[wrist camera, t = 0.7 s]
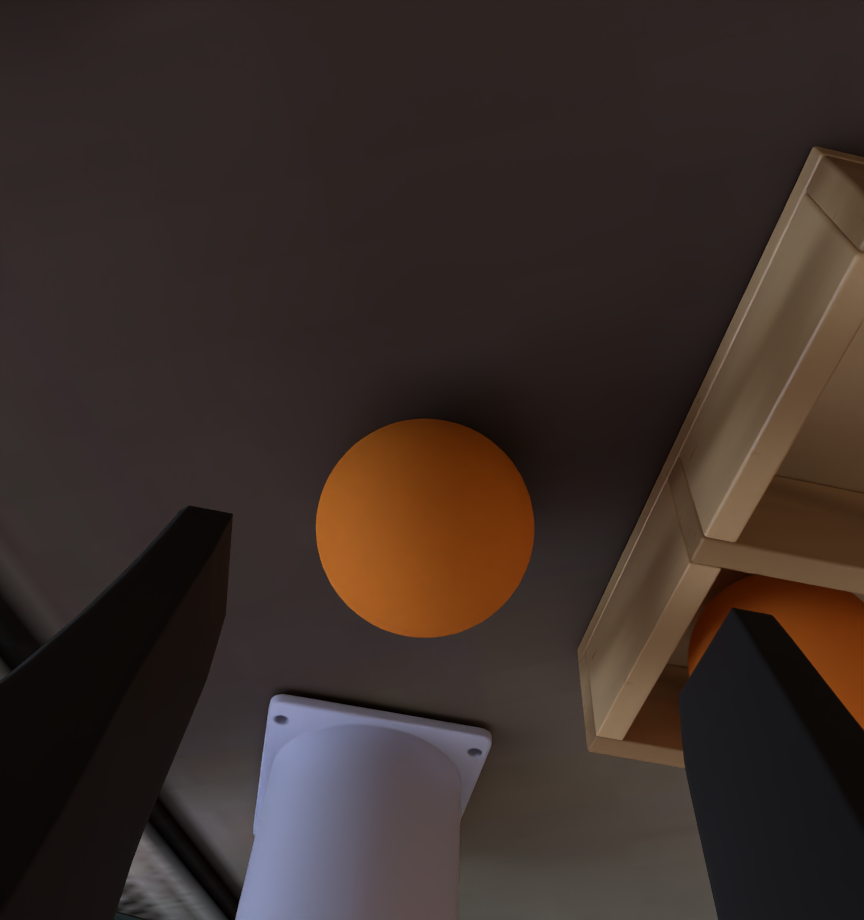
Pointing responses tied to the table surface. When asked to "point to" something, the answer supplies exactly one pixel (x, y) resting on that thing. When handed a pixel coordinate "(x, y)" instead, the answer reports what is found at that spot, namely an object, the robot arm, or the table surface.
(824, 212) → the tray
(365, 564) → the clementine
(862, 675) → the rack clementine
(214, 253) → the table surface
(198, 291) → the table surface
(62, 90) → the table surface
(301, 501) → the table surface
